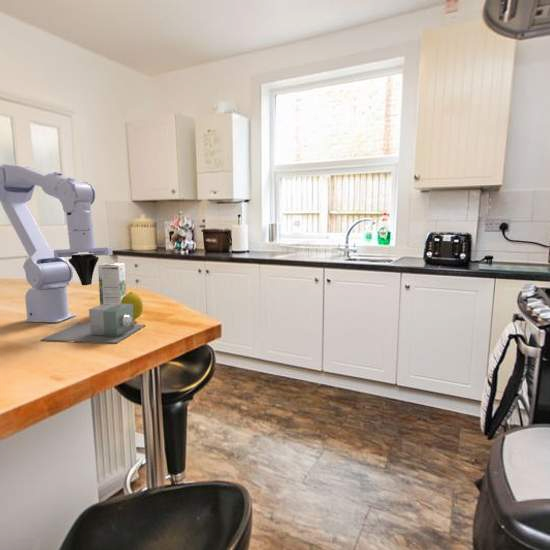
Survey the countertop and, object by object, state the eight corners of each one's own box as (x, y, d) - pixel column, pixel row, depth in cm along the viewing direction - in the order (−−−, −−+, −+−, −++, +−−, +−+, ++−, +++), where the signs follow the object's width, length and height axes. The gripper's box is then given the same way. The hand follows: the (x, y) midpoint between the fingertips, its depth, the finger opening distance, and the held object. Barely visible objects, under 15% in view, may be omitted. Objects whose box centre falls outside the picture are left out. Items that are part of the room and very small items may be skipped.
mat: (40, 340, 85) (40, 339, 85) (79, 324, 99) (79, 322, 99) (116, 343, 83) (116, 342, 83) (145, 326, 97) (145, 324, 97)
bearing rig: (86, 338, 87) (84, 310, 86) (105, 328, 95) (103, 303, 94) (121, 339, 86) (119, 311, 85) (138, 329, 94) (136, 303, 93)
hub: (90, 334, 88) (88, 309, 87) (105, 327, 94) (103, 303, 93) (107, 335, 87) (105, 309, 87) (120, 328, 93) (119, 304, 92)
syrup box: (107, 311, 113) (104, 262, 111) (127, 310, 113) (125, 262, 111) (100, 316, 107) (96, 264, 105) (121, 315, 108) (118, 264, 106)
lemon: (136, 324, 98) (134, 294, 97) (116, 323, 99) (115, 293, 98) (147, 319, 103) (146, 290, 102) (129, 318, 105) (127, 289, 103)
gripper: (42, 232, 92) (49, 288, 94) (99, 229, 90) (104, 286, 92) (62, 232, 99) (68, 283, 100) (114, 229, 97) (119, 282, 99)
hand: (86, 284), depth 97 cm, fingers closed
